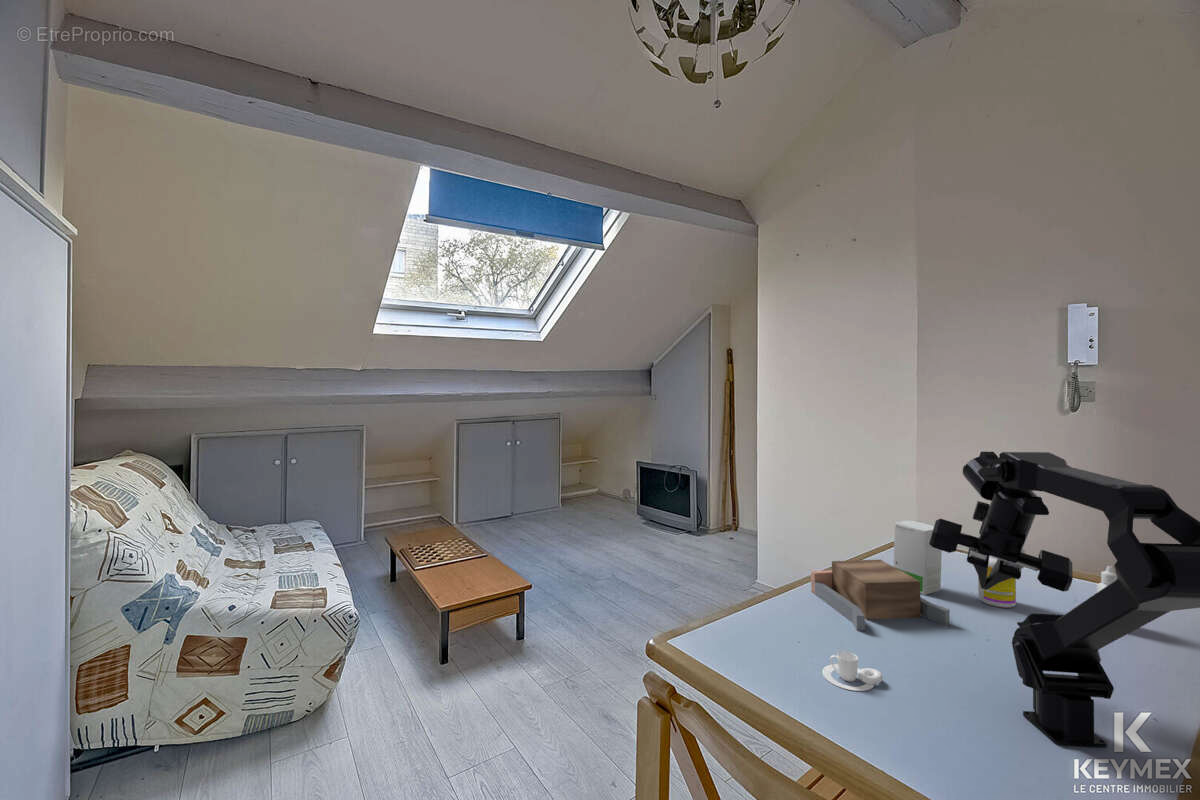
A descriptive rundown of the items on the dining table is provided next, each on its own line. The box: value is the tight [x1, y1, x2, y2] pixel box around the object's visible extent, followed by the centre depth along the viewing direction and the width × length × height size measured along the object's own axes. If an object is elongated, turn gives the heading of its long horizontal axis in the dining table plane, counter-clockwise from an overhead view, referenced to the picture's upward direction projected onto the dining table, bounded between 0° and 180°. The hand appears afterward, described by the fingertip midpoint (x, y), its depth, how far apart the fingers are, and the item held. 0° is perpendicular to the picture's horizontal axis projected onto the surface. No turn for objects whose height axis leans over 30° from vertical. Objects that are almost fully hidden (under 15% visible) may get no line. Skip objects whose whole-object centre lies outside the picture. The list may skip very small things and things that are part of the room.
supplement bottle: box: [977, 556, 1017, 609], centre depth 113 cm, size 7×7×13 cm
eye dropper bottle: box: [1096, 565, 1117, 593], centre depth 101 cm, size 4×6×12 cm
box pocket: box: [810, 569, 951, 632], centre depth 111 cm, size 20×20×5 cm
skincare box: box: [893, 519, 942, 596], centre depth 122 cm, size 8×7×16 cm
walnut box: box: [831, 559, 922, 621], centre depth 113 cm, size 14×12×8 cm
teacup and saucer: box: [822, 651, 884, 692], centre depth 84 cm, size 9×8×4 cm
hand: (984, 587), depth 88 cm, fingers closed
